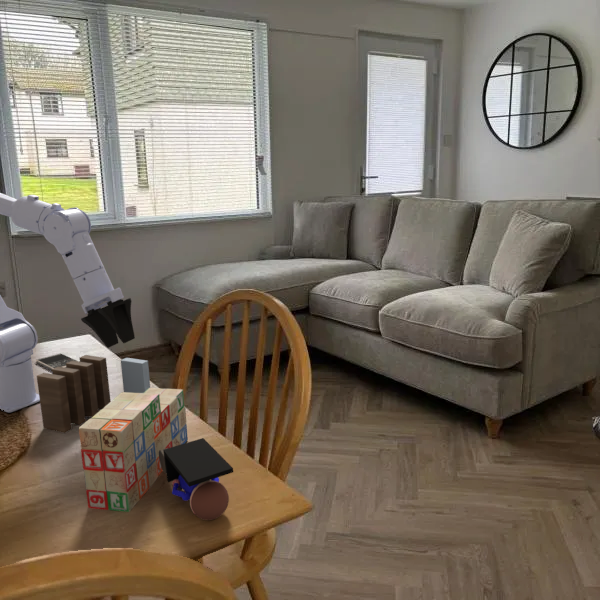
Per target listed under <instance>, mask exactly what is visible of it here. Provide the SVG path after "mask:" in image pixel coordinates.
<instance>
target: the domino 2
mask: <svg viewBox="0 0 600 600" xmlns="http://www.w3.org/2000/svg"><path fill="white" fill-rule="evenodd" d="M51 374H55V375H60V376H65V379H66V387H67V395H68V403H69V411H70V419H71V425H76V426H80V425H83V424H84V423H85V422H87V420H86V416H85V412H84V404H83V395H82V386H81V378H80V370H78V369H71V368H65V367H59V366H58V367H56V368H54V369H52V371H51Z"/></svg>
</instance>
